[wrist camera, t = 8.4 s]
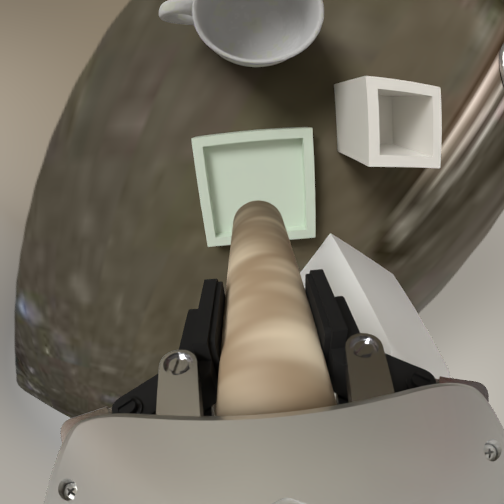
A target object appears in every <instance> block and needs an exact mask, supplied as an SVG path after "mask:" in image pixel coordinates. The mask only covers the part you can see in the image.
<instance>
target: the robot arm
mask: <svg viewBox="0 0 504 504" xmlns="http://www.w3.org/2000/svg"><path fill="white" fill-rule="evenodd" d="M499 64H500V72H501V77H502V81H503V84H504V44H503V45H502V47H501V50H500V55H499ZM305 292H306V295H307V298H308V302H309V305H310V308H311V312H312V315H313V319H314V322H315V326H316V329H317V333H318V336H319V340H320V343H321V347H322V351H323V354H324V358H325V361H326V365H327V369H328V372H329V376H330V380H331V384H332V388H333V391H334V393H336V403H337V405H334V406H328V407H321V408H314V409H307V410H299V411H291V412H281V413H270V414H256V415H237V416H214V408H213V404H215V403H216V398H217V385H218V373H219V362H220V350H221V339H222V328H223V317H224V306H225V293H224V287H223V282H218V279H207V280H204V285H203V289H202V294H201V298H200V303H199V308H198V309H190V310H189V311H188V314H187V318H186V322H185V327H184V331H183V335H182V339H181V343H180V348H179V350H175V351H172V352H169V353H167V354H166V355H165V356H164V357H163V358H162V359H161V361H160V364H159V373H158V374H157V375H155V376H154V377H152V378H151V379H149V380H147V381H146V382H144V383H143V384H141V385H139V386H138V387H136V388H135V389H133V390H131V391H130V392H128V393H127V394H125V395H123V396H122V397H120V398H119V399H118V400H116V402H115V403H114V404H113V407H112V408H110V409H108V407H104V408H101V409H98V410H95V411H92V412H89V413H86V414H83V415H80V416H77V417H74V418H71V419H69V420H67V421H65V423H64V424H63V425H62V427H61V438H62V445H61V448H60V450H59V453H58V455H57V458H56V461H55V464H54V467H53V470H52V473H51V477H50V480H49V485H48V488H47V492H46V497H45V501H44V504H504V429H503V427H502V425H501V423H500V421H499V419H498V418H497V415H496V414H495V412H494V410H493V409H492V407H491V405H490V404H489V403H488V391H487V389H486V387H485V386H484V385H482V384H481V383H478V382H474V381H467V380H459V379H452V378H447V377H441V376H440V377H439V379H435V377H434V376H433V375H432V374H431V373H430V372H429V371H427V370H425V369H422V368H420V367H417V366H415V365H412V364H410V363H408V362H405V361H403V360H400V359H398V358H395V357H393V356H391V355H388V354H386V353H385V352H384V348H383V345H382V343H381V341H380V340H379V339H378V338H377V337H375V336H374V335H371V334H368V333H360V331H359V329H358V327H357V325H356V322H355V320H354V318H353V316H352V313H351V311H350V309H349V307H348V305H347V302H346V300H345V298H344V297H343V296H336V297H335V296H334V294H333V292H332V289H331V287H330V285H329V282H328V280H327V278H326V276H325V273H324V271H323V269H318V270H310V273H309V274H306V275H305Z"/></svg>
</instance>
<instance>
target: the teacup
mask: <svg viewBox="0 0 504 504" xmlns="http://www.w3.org/2000/svg"><path fill="white" fill-rule="evenodd" d="M159 17H160V18H161V19H162V20H164V21H166V22H170V23H177V24H187V25H194V26H195V28H196V31H197V33H198V34H199V36H200V38H201V39H202V40H203V41H204V43H205V44H206V45H207V46H208V47H210V48H211V49H212V50H213V51H214V52H216V53H217V54H218V55H220V56H221V57H223V58H224V59H226V60H228V61H230V62H232V63H235V64H238V65H242V66H247V67H265V66H271V65H275V64H278V63H281V62H283V61H286V60H287V59H289V58H292V57H294V56H296V55H297V54H299V53H301V52H302V51H304V50H305V49H306V48H307V47H308V46H309V45H310V44H311V43H312V42H313V41H314V40H315V39H316V37H317V35H318V33H319V32H320V29H321V27H322V24H323V20H324V6H323V1H322V0H169V1H166V2H164V3H163V4H162V5H161V6H160V9H159Z"/></svg>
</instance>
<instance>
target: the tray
mask: <svg viewBox="0 0 504 504" xmlns="http://www.w3.org/2000/svg"><path fill="white" fill-rule="evenodd" d="M191 140H192V147H193V155H194V162H195V169H196V176H197V182H198V189H199V195H200V202H201V208H202V214H203V220H204V227H205V232H206V238H207V244H208V247H211V246H222V245H231V237H232V228H233V220H234V216H235V214H236V212H237V211H238V209H239V208H240V207H241V206H243V205H244V204H246V203H248V202H251V201H257V200H260V201H266V202H269V203H271V204H272V205H274V206H275V207H276V208H277V209H278V210H279V212H280V213H281V216H282V218H283V222H284V225H285V228H286V231H287V234H288V237H289V240H291V239H302V238H314V237H315V173H314V148H313V130H312V128H310V127H292V128H274V129H260V130H248V131H238V132H229V133H220V134H212V135H205V136H198V137H194V138H192V139H191Z"/></svg>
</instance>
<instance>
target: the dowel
mask: <svg viewBox="0 0 504 504" xmlns="http://www.w3.org/2000/svg"><path fill="white" fill-rule="evenodd" d="M334 405H337V403H336V399H335V395H334V391H333V388H332V384H331V380H330V376H329V372H328V369H327V365H326V361H325V358H324V354H323V351H322V347H321V343H320V340H319V336H318V333H317V329H316V326H315V322H314V319H313V315H312V312H311V308H310V305H309V302H308V298H307V295H306V292H305V288H304V285H303V282H302V278H301V275H300V272H299V269H298V265H297V262H296V259H295V256H294V253H293V249H292V246H291V243H290V240H289V237H288V234H287V231H286V228H285V225H284V222H283V218H282V216H281V213H280V212H279V210H278V209H277V208H276V207H275V206H274V205H272V204H271V203H269V202H266V201H260V200H257V201H251V202H248V203H246V204H244V205H243V206H241V207H240V208H239V209H238V211H237V212H236V214H235V216H234V220H233V228H232V237H231V246H230V256H229V265H228V275H227V285H226V295H225V306H224V317H223V328H222V339H221V350H220V362H219V373H218V385H217V398H216V411H215V416H237V415H256V414H270V413H281V412H291V411H299V410H307V409H314V408H321V407H328V406H334Z"/></svg>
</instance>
